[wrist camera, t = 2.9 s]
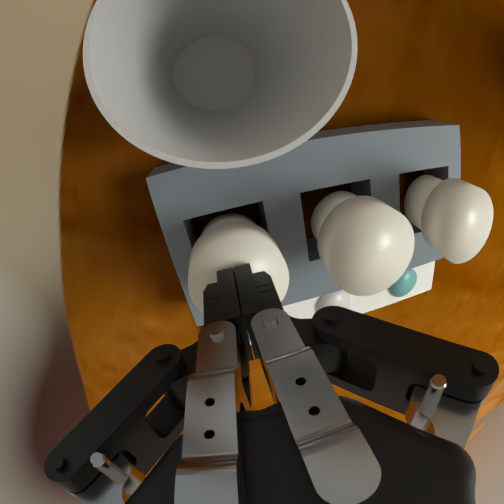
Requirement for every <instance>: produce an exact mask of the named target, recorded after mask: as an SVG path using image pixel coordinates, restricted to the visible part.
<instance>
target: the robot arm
mask: <svg viewBox="0 0 504 504" xmlns="http://www.w3.org/2000/svg"><path fill="white" fill-rule="evenodd" d="M234 271H235V275H234ZM234 271H233V268H232V267H231V268H227V269H222V270H218V271H216V272H217V282H215V283H211V284H207V286H206V288H205V290H204V291H203V300H204V301H203V306H204V307H203V310H204V327H203V328H202V330H201V331H200V333H199V336H198V341H197V342H196V343H194V344H193V345H191V346H189V347H186V348H184V349H182V350H180V349H179V348H178V347H177V346H175V345H172V344H164V345H160V346H158V347H156V348H154V349H153V350H151V351H150V352H149V353H148V354H147V355H146V356H145V357H144V358H143V359H142V360H141V361H140V362H139V363H138V364H137V365H136V366H135V367H134V368H133V369H132V370H131V371H130V372H129V373H128V374H127V375H126V376H125V377H124V378H123V379H122V380H121V381H120V382H119V383H118V384H117V385H116V386H115V387H114V388H113V389H112V390H111V391H110V392H109V393H108V394H107V395H106V396H105V397H104V398H103V399H102V400H101V401H100V402H99V403H98V404H97V405H96V406H95V407H94V408H93V409H92V410H91V411H90V413H89V414H88V415H87V416H86V417H85V418H84V419H83V420H82V421H81V422H80V423H79V424H78V425H77V426H76V427H75V428H74V429H73V430H72V431H71V432H70V433H69V434H68V435H67V436H66V437H65V438H64V439H63V440H62V441H61V442H60V443H59V444H58V445H57V446H56V447H55V448H54V449H53V450H52V451H51V452H50V453H49V454H48V456H47V457H46V460H45V463H44V469H45V473H46V475H47V477H48V478H49V479H50V480H52V481H53V482H55V483H56V484H58V485H59V486H61V487H62V488H63V489H64V490H65V491H67V492H68V493H70V494H72V495H73V496H75V497H77V498H78V499H79V500H80V501H81V503H82V504H476V503H475V483H476V472H475V467H474V464H473V461H472V459H471V457H470V456H469V454H468V453H467V452H466V451H465V450H464V448H465V445H466V443H467V440H468V438H469V435H470V433H471V430H472V427H473V425H474V422H475V419H476V416H477V413H478V410H479V408H480V406H481V405H482V403H483V401H484V400H485V398H486V396H487V395H488V393H489V391H490V390H491V388H492V386H493V384H494V383H495V381H496V379H497V377H498V374H499V366H498V363H497V361H496V360H495V359H494V358H493V357H492V356H491V355H490V354H488V353H485V352H482V351H479V350H476V349H472V348H469V347H466V346H462V345H459V344H456V343H453V342H449V341H446V340H443V339H440V338H436V337H433V336H430V335H427V334H424V333H420V332H417V331H414V330H411V329H408V328H405V327H402V326H399V325H395V324H392V323H389V322H386V321H383V320H380V319H377V318H374V317H371V316H368V315H365V314H362V313H359V312H356V311H353V310H350V309H347V308H344V307H340V306H326V307H323V308H321V309H319V310H318V311H316V312H315V313H314V315H313V317H312V318H311V319H299V318H294V317H291V316H289V315H288V314H287V313H286V312H285V311H284V309H283V306H282V304H281V301H280V299H279V296H278V294H277V291H276V289H275V286H274V284H273V281H272V278H271V276H270V275H269V274H268V273H266V272H265V271H261V272H257V273H252V270H251V267H250V263H247V264H243V265H239V266H235V267H234ZM235 276H236V279H235ZM236 281H237V283H236ZM248 334H249V335H248ZM249 338H250V339H249ZM250 341H251V344H250ZM251 345H252V348H253V352H254V355H255V359H258V358H260V361H261V364H262V368H263V371H264V375H265V378H266V381H267V383H268V386H269V389H270V392H271V395H272V398H273V400H274V403H275V404H273V405H271V406H269V407H267V408H265V409H263V410H256V411H254V405H253V395H252V384H251V376H250V372H249V371H250V367H249V362H248V361H250V360H254V358H253V354H252V349H251ZM331 383H332V384H334V385H336V386H339V387H341V388H343V389H345V390H347V391H350V392H352V393H354V394H356V395H359V396H361V397H363V398H366V399H368V400H370V401H373V402H375V403H377V404H380V405H382V406H385V407H387V408H390V409H392V410H395V411H397V412H400V413H402V414H405V418H406V421H407V423H408V424H407V423H405V422H402V421H400V420H398V419H396V418H393V417H391V416H389V415H387V414H385V413H382V412H380V411H378V410H376V409H374V408H372V407H369V406H367V405H365V404H363V403H361V402H359V401H357V400H354V399H351V398H348V397H343V396H338V395H337V394H336V392H335V390H334V388H333V386H332V385H331ZM163 394H164V395H165V397H164V398H163V399H162V400H161V401H160V402H159V403H158V404H157V406H156V407H155V408H154V409H153V410H152V411H151V412H150V413H149V414H148V416H147V417H146V414H147V412H148V411H149V409H150V408H151V407H152V406H153V405H154V404H155V403H156V402H157V400H158V399H159V398H160V397H161V396H162V395H163ZM182 431H183V434H182V435H180V433H181V432H182ZM179 435H180V436H179ZM178 436H179V437H178ZM177 437H178V438H177ZM176 438H177V439H176ZM171 444H172V445H171ZM168 448H169V449H168ZM167 449H168V450H167ZM166 450H167V451H166ZM164 453H165V454H164ZM163 454H164V455H163ZM162 455H163V456H162ZM161 456H162V458H161ZM160 458H161V459H160ZM159 459H160V460H159ZM158 460H159V461H158ZM157 461H158V463H157V464H156V465H155V463H156V462H157ZM154 465H155V466H154ZM153 466H154V468H153V469H152V470H151V472H150V473H149V474H148V475H147V477H146V478H145V475H146V474H147V473H148V472H149V470H150V469H151V468H152V467H153Z"/></svg>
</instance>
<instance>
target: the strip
mask: <svg viewBox="0 0 504 504" xmlns="http://www.w3.org/2000/svg"><path fill="white" fill-rule="evenodd" d="M434 265H435V261H432V262H430V263H427V264H424V265H421V266H418V267H415V268H412V269H409V270H406V271H405V272H404V273H403V274H402V276H401V277H400V278H399V279H398V280H397V281H396V282H395V283H394V284H393V285H391V286H390V287H389V288H387V289H385V290H384V291H382V292H379V293H377V294H374V295H370V296H355V295H352V294H349V293H347V292H345V291H344V290H340V291H337V292H333V293H330V294H326V295H323V296H319V297H315V298H312V299H308V300H304V301H301V302H297V303H293V304H289V305H285V306H283V309H284V311H285V312H286V313H287V314H288V315H289V316H291V317H294V318H299V319H311V318H312V317H313V315H314V313H315V312H316V311H318V310H319V309H321V308H323V307H326V306H340V307H344V308H347V309H350V310H353V311H356V312H359V313H366V312H369V311H372V310H375V309H378V308H381V307H384V306H386V305H389V304H392V303H395V302H398V301H401V300H404V299H406V298H409V297H412V296H414V295H417V294H420V293H423V292H425V291H428V290H430V289H431V287H432V280H433V273H434ZM248 335H249V334H248ZM249 339H250V338H249ZM250 344H251V341H250Z"/></svg>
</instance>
